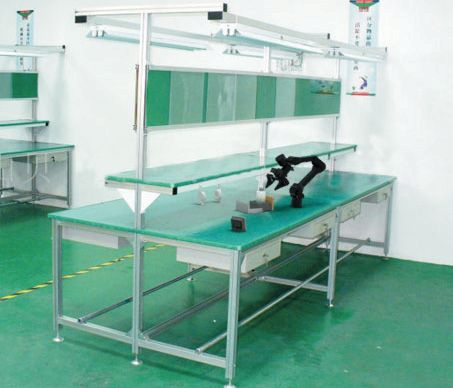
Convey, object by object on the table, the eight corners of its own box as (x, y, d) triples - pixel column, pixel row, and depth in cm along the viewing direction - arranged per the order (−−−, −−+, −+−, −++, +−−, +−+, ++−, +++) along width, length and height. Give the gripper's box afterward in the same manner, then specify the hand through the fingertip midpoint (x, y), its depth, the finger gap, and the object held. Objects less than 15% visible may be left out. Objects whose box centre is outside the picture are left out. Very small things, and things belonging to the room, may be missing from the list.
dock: (252, 208, 427) (252, 198, 426) (264, 212, 417) (265, 202, 415) (235, 209, 419) (236, 200, 418) (247, 213, 409) (248, 203, 408)
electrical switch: (246, 230, 362) (246, 216, 360) (242, 233, 358) (242, 218, 356) (233, 228, 366) (233, 214, 364) (229, 230, 363) (229, 216, 360)
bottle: (264, 207, 425) (266, 187, 423) (264, 208, 419) (266, 188, 417) (255, 206, 425) (256, 186, 423) (255, 208, 420) (256, 188, 417)
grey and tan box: (261, 206, 431) (262, 194, 429) (273, 210, 421) (274, 197, 420) (248, 208, 424) (248, 195, 423) (259, 211, 415) (260, 198, 413)
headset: (216, 201, 447) (217, 175, 443) (223, 202, 442) (224, 176, 439) (195, 204, 432) (196, 177, 429) (202, 206, 427) (203, 179, 424)
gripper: (268, 161, 432) (254, 178, 428) (287, 165, 417) (272, 183, 413) (277, 172, 438) (263, 189, 434) (295, 176, 423) (281, 194, 418)
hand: (269, 189), depth 424 cm, fingers open, 9 cm apart
